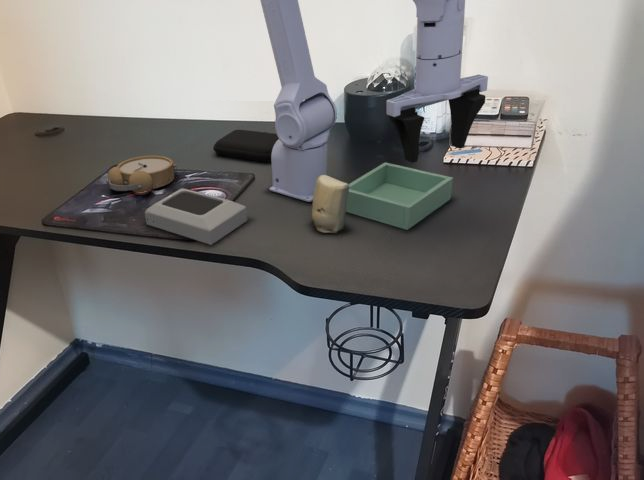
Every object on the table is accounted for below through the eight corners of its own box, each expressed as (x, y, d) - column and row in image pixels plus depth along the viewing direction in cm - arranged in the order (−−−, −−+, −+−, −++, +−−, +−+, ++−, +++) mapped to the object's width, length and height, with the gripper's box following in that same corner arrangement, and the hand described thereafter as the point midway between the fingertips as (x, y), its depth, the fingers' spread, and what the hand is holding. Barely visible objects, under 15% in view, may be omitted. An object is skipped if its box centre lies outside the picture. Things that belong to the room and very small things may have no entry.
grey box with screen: (208, 224, 100) (143, 204, 109) (211, 244, 102) (146, 224, 111) (245, 200, 105) (180, 183, 114) (247, 220, 107) (182, 202, 116)
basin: (339, 210, 106) (340, 189, 103) (383, 182, 111) (384, 162, 109) (407, 230, 98) (409, 207, 95) (450, 199, 103) (453, 177, 101)
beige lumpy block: (350, 220, 102) (352, 173, 97) (345, 236, 99) (347, 188, 94) (315, 219, 104) (315, 173, 99) (308, 234, 101) (308, 187, 96)
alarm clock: (184, 158, 125) (138, 175, 114) (185, 183, 127) (139, 202, 117) (140, 153, 131) (91, 168, 120) (141, 176, 133) (94, 194, 122)
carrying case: (297, 146, 130) (238, 138, 138) (297, 131, 128) (237, 124, 136) (271, 165, 124) (210, 156, 132) (270, 150, 122) (208, 142, 130)
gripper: (407, 71, 80) (405, 174, 88) (507, 44, 82) (496, 147, 90) (378, 64, 86) (378, 161, 94) (471, 38, 88) (464, 135, 96)
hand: (434, 153), depth 92 cm, fingers open, 7 cm apart
